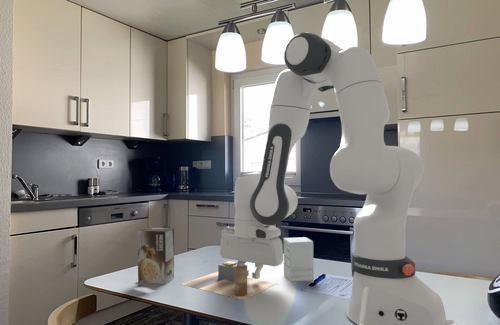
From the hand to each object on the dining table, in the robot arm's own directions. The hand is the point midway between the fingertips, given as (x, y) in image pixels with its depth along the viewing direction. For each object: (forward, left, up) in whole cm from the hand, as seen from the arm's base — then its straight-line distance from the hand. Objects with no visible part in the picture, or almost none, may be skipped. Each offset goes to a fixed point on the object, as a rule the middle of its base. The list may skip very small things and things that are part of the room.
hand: (250, 277), depth 107 cm
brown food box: (+24, +14, -3) cm, 28 cm away
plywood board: (+4, +5, -3) cm, 7 cm away
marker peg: (-4, +10, -1) cm, 11 cm away
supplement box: (-9, -12, -3) cm, 15 cm away
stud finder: (+6, 0, -1) cm, 7 cm away
